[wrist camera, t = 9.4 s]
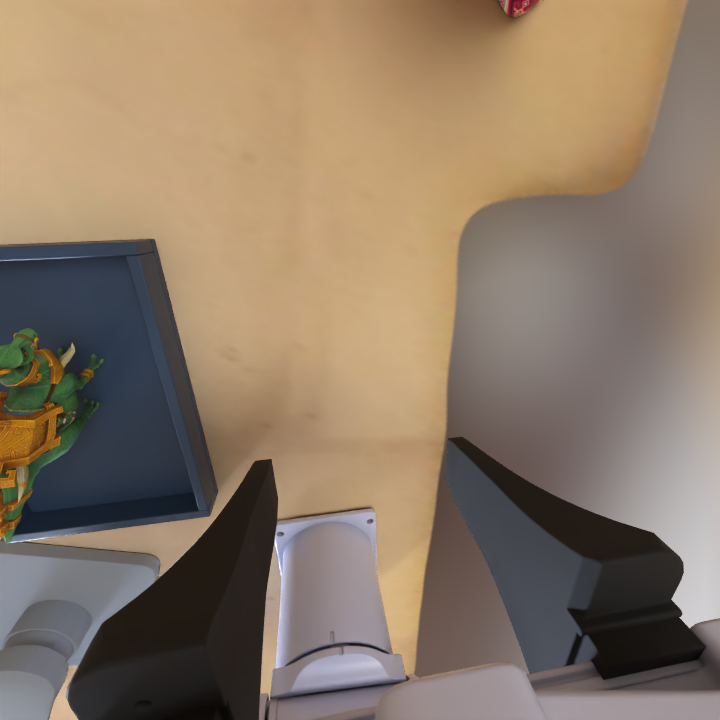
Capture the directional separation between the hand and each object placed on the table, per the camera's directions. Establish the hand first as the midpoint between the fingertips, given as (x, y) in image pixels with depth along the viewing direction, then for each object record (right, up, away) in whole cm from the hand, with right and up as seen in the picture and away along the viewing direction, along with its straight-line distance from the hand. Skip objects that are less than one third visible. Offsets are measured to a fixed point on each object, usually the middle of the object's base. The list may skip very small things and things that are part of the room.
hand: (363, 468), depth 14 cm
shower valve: (-24, -16, +13) cm, 31 cm away
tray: (-17, +2, +7) cm, 18 cm away
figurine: (-17, +2, +6) cm, 18 cm away
